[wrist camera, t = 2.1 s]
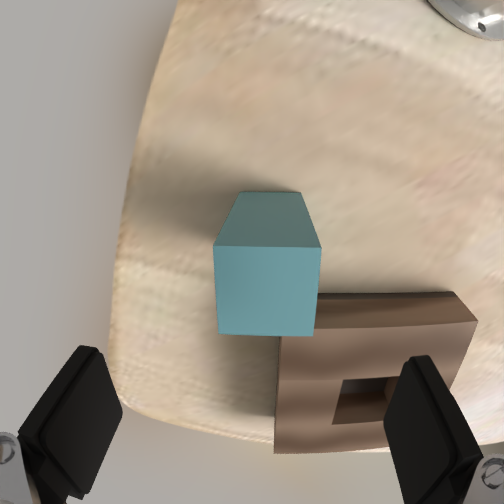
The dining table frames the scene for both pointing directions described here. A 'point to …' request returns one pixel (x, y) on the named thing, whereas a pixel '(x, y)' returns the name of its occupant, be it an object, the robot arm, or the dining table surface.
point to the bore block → (361, 365)
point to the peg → (267, 267)
